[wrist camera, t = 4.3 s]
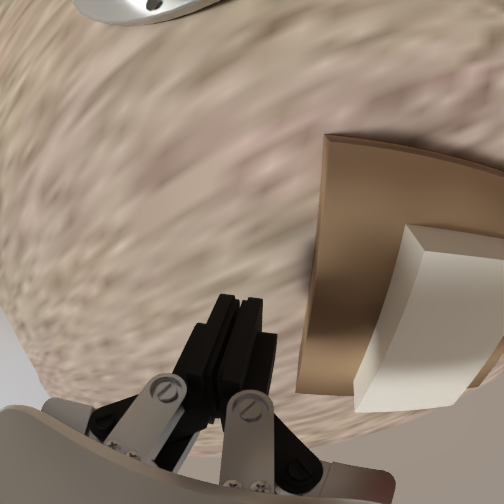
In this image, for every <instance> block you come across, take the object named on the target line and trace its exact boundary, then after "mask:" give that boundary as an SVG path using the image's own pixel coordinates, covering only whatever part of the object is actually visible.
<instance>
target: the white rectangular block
mask: <svg viewBox="0 0 504 504" xmlns="http://www.w3.org/2000/svg"><path fill="white" fill-rule="evenodd" d="M503 336H504V239H501V238H495V237H489V236H484V235H478V234H472V233H465V232H459V231H453V230H446V229H439V228H432V227H425V226H417V225H410V224H405V228H404V233H403V237H402V241H401V245H400V249H399V253H398V257H397V261H396V265H395V268H394V272H393V275H392V279H391V282H390V285H389V289H388V292H387V295H386V298H385V301H384V304H383V307H382V310H381V313H380V316H379V319H378V322H377V324H376V327H375V330H374V333H373V335H372V338H371V340H370V343H369V346H368V348H367V351H366V353H365V356H364V358H363V360H362V363H361V365H360V367H359V370H358V372H357V374H356V377H355V379H354V381H353V385H354V405H355V412H390V411H406V410H418V409H427V408H436V407H443V406H450V405H453V404H454V403H455V401H456V400H457V399H458V398H459V397H460V396H461V394H462V393H463V392H464V391H465V390H466V388H467V387H468V386H469V385H470V383H471V382H472V381H473V379H474V378H475V377H476V375H477V374H478V373H479V371H480V370H481V369H482V367H483V366H484V365H485V363H486V362H487V360H488V359H489V357H490V356H491V355H492V353H493V352H494V350H495V348H496V347H497V345H498V344H499V342H500V341H501V339H502V337H503Z"/></svg>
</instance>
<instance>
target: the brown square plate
mask: <svg viewBox="0 0 504 504" xmlns="http://www.w3.org/2000/svg"><path fill="white" fill-rule="evenodd" d="M405 224H410V225H417V226H425V227H432V228H439V229H446V230H453V231H459V232H465V233H472V234H478V235H484V236H489V237H495V238H501V239H504V172H503V171H500V170H497V169H494V168H491V167H488V166H485V165H482V164H478V163H475V162H472V161H468V160H465V159H461V158H457V157H453V156H450V155H446V154H442V153H437V152H433V151H429V150H424V149H420V148H415V147H410V146H405V145H399V144H394V143H388V142H382V141H375V140H369V139H362V138H354V137H346V136H337V135H327V134H324V144H323V161H322V176H321V189H320V201H319V212H318V223H317V232H316V242H315V250H314V259H313V267H312V275H311V282H310V290H309V297H308V304H307V310H306V317H305V323H304V329H303V335H302V341H301V347H300V353H299V362H298V372H297V382H296V392H295V393H303V394H317V395H337V396H354V385H353V381H354V379H355V377H356V374H357V372H358V370H359V367H360V365H361V363H362V360H363V358H364V356H365V353H366V351H367V348H368V346H369V343H370V340H371V338H372V335H373V333H374V330H375V327H376V324H377V322H378V319H379V316H380V313H381V310H382V307H383V304H384V301H385V298H386V295H387V292H388V289H389V285H390V282H391V279H392V275H393V272H394V268H395V265H396V261H397V257H398V253H399V249H400V245H401V241H402V237H403V233H404V228H405ZM503 353H504V336H503V337H502V339H501V341H500V342H499V344H498V345H497V347H496V348H495V350H494V352H493V353H492V355H491V356H490V357H489V359H488V360H487V362H486V363H485V365H484V366H483V367H482V369H481V370H480V371H479V373H478V374H477V375H476V377H475V378H474V379H473V381H472V382H471V383H470V385H469V386H468V387H467V388H473V387H478V386H479V385H480V384H481V382H482V381H483V380H484V379H485V377H486V376H487V375H488V374H489V372H490V371H491V370H492V368H493V367H494V365H495V364H496V363H497V361H498V360H499V358H500V357H501V356H502V354H503ZM467 388H466V389H467Z"/></svg>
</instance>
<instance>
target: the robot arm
mask: <svg viewBox="0 0 504 504" xmlns="http://www.w3.org/2000/svg"><path fill="white" fill-rule="evenodd" d="M218 1H220V0H72V2H73V5H74V6H75V8H76V9H77V10H78V11H79V12H80V13H81V14H82V15H84V16H86V17H88V18H90V19H92V20H94V21H98V22H102V23H106V24H109V25H118V26H138V25H148V24H153V23H157V22H162V21H167V20H171V19H174V18H177V17H180V16H183V15H186V14H189V13H192V12H195V11H197V10H199V9H201V8H204V7H206V6H208V5H211V4H213V3H216V2H218ZM262 311H263V299H260V298H252V297H249V298H248V300H247V301H246V300H243V301H242V304H241V306H240V301H239V300H238V299H235V296H234V295H227V294H220V295H219V297H218V299H217V301H216V304H215V306H214V308H213V310H212V312H211V315H210V317H209V319H208V321H207V323H206V324H203V323H197V324H196V325H195V327H194V329H193V331H192V333H191V335H190V337H189V339H188V341H187V343H186V345H185V348H184V350H183V352H182V354H181V356H180V358H179V360H178V362H177V364H176V366H175V368H174V370H173V372H172V374H171V373H163V374H159V375H157V376H155V377H153V378H152V379H151V380H150V381H149V382H148V383H147V384H146V386H145V387H144V388H143V390H142V391H141V392H140V394H138V395H135V396H132V397H129V398H127V399H124V400H121V401H118V402H115V403H112V404H109V405H106V406H103V407H100V408H98V409H96V408H94V407H93V406H90V405H85V404H81V403H77V402H72V401H68V400H64V399H60V398H51V399H49V400H47V401H46V402H45V403H44V405H43V407H42V410H41V411H40V410H37V409H35V408H32V407H28V406H24V405H9V406H6V407H4V408H3V409H1V410H0V504H391V503H392V499H393V495H394V492H395V485H396V482H395V479H394V477H393V476H392V475H391V474H390V473H389V472H386V471H383V470H376V469H369V468H363V467H358V466H351V465H347V464H342V463H337V462H332V463H329V462H325V461H321V460H319V459H318V458H317V457H316V456H315V455H314V454H313V453H312V452H311V451H310V450H309V449H308V448H307V447H306V446H305V445H304V444H303V443H302V442H301V441H300V440H299V439H298V438H297V437H296V436H295V435H294V434H293V433H292V432H291V431H290V430H289V429H288V428H287V427H286V425H285V424H284V423H283V422H282V421H281V420H280V419H279V418H278V417H277V416H276V415H275V414H274V407H273V402H272V401H271V399H270V398H269V397H268V395H269V389H270V384H271V378H272V373H273V367H274V361H275V354H276V346H277V334H274V333H265V332H262ZM215 418H218V419H219V418H220V419H221V424H222V429H223V432H224V441H223V450H222V460H221V470H220V481H219V485H216V484H212V483H208V482H204V481H200V480H196V479H193V478H189V477H186V476H182V475H178V474H177V473H178V471H179V469H180V467H181V466H182V464H183V462H184V460H185V459H186V457H187V455H188V454H189V452H190V450H191V448H192V446H193V445H194V443H195V441H196V439H197V437H198V436H199V433H200V431H201V430H203V429H205V428H207V425H208V423H209V424H213V423H214V420H215Z"/></svg>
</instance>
